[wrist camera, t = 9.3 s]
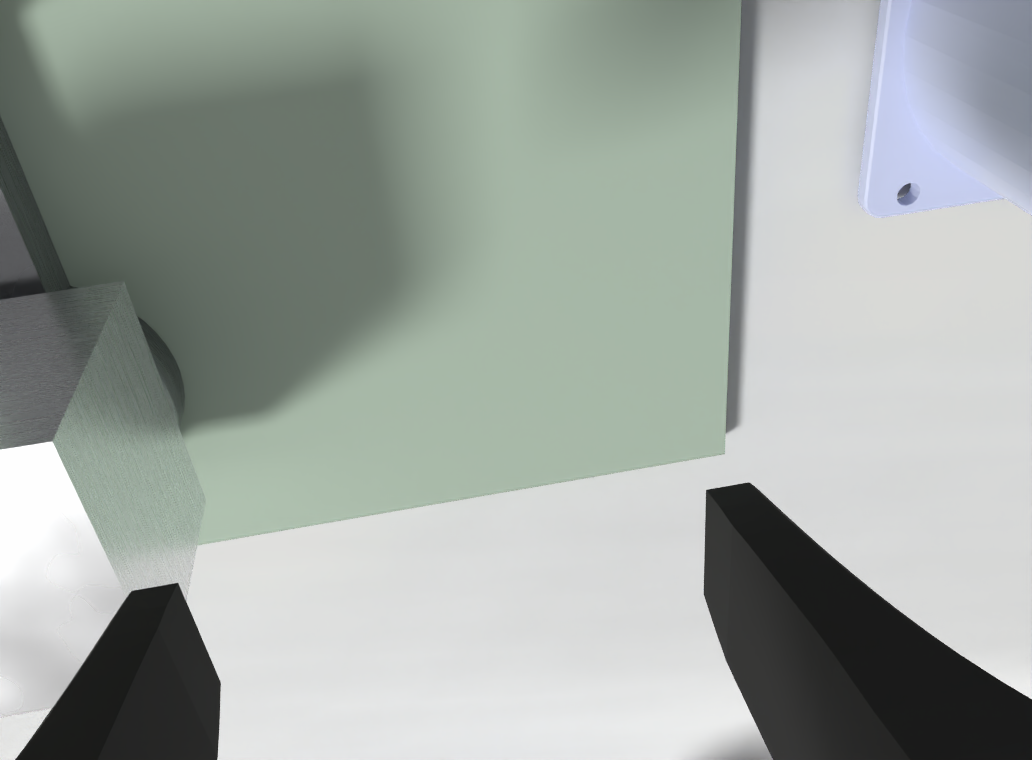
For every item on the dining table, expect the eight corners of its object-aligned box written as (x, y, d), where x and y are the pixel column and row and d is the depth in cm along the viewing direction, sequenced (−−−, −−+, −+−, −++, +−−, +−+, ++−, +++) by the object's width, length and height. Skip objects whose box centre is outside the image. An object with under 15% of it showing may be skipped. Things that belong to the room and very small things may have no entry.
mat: (757, -892, 12) (775, -919, 12) (717, 440, 24) (724, 453, 24) (-1506, -735, 10) (-1599, -759, 10) (-320, 618, 23) (-335, 637, 22)
